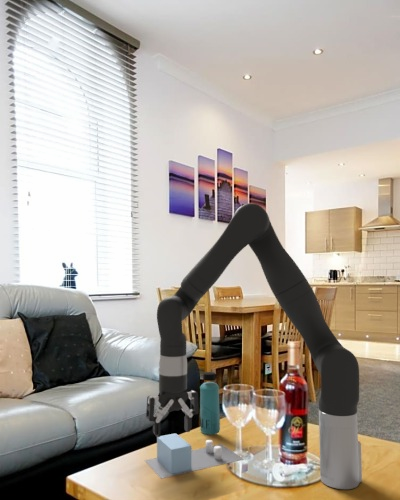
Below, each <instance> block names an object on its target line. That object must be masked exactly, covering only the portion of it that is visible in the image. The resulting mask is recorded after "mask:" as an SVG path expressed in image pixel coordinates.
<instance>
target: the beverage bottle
mask: <svg viewBox="0 0 400 500" xmlns="http://www.w3.org/2000/svg"><path fill="white" fill-rule="evenodd" d="M202 376H203V377H202V380H203V381H205V382H203V383H202V384H201V385H200V386H199V389H200V390H199V393H200V395H199V396H200V397H199V406H200V407H199V408H200V409H199V410H200V411H199V413H200V416H199V417H200V418H199V426H200V432H201V433H202V434H204V435H216V434H218V433H220V430H221V417H220V416H221V415H220V386H219V385H218V384H217V382H213V381H216V380H217V377H216V373H215V372H213V371H206V372H203V375H202Z"/></svg>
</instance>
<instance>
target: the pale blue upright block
mask: <svg viewBox="0 0 400 500" xmlns="http://www.w3.org/2000/svg"><path fill="white" fill-rule="evenodd" d="M191 450H192V445H191V444H190V443H188V441H186V439H184V438H183V437H181V436H180V435H178V434H177V433H171V434H170V433H169V434H165V435H160V437H157V436H156V458H157V460H158V461H159V462H160V463H161V464H162V465H163V466H164V467H165V468H166V469H167V470H168V471H169V472H170V473H171V474H174V473H179V472H183V471H187V470H192V468H191Z"/></svg>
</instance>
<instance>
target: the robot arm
mask: <svg viewBox="0 0 400 500" xmlns="http://www.w3.org/2000/svg"><path fill="white" fill-rule="evenodd" d="M247 246H248V247H250V249H251V251H252V252H253V253H254V254H255V257H256V259H257V260H258V262H259V264H260V267H261V269H262V272H263V274H264V277H265V279H266V281H267V284H268V286H269V288H270V290H271V292H272V294H273V296H274V297H275V299H276V301H277V303H278V304H279V306H280V308H281V309H282V310H283V312H284V314H285V315H286V316H287V318H288V320H289V321H290V322H291V324H292V325H293V326H294V328H295V329H296V330H297V332H298V333H299V335H300V336H301V338H302V339H303V341H304V343H305V345H306V347H307V349H308V351H309V354H310V356H311V358H312V360H313V363H314V365H315V367H316V369H317V371H318V372H319V374H320V396H319V397H318V435H319V436H318V438H319V439H318V440H319V473H320V476H319V477H320V481H321V482H322V484H324V485H325V486H327V487H330V488H333V489H338V490H352V489H355V488H358V486H359V485H360V483H362V482H363V470H362V469H363V467H362V466H363V465H362V463H363V462H362V443H361V441H359V436H358V435H359V431H358V405H359V401H360V367H359V366H360V365H359V361H358V359H357V357H356V355H354V353H353V352H352V351H350V350H348V349H347V348H345V347H344V346H343V345H342V344H341V343H340V341H339V340H338V338H337V337H336V336H335V334H334V333H333V332H332V330H331V329H330V327H329V325H328V324H327V322H326V319H325V317H324V313H323V311H322V309H321V306H320V303H319V300H318V298H317V296H316V293H315V292H314V290H313V288H312V286H311V285H310V283H309V282H308V280H307V278H306V276H305V275H304V273H303V272H302V270H301V269H300V267H299V266H298V265H297V263H296V262H295V260H294V259H293V258H292V257H291V255H290V254H289V253H288V252H287V250H286V249H285V248H284V247H283V244H282V243H281V241H280V239H279V238H278V235H277V233H276V231H275V229H274V227H273V225H272V222H271V220H270V217H269V215H268V213H267V211H266V210H265V208H264V207H262V205H259V204H257V203H251V202H249V203H245V204H243V205H241V206H238V208H237V209H236V210H235V212H234V214H233V216H232V217H231V219H230V220H229V223H228V224H227V225H226V228H225V229H224V230H223V232H222V233H221V235H220V236H219V238H218V239H217V241H215V243H213V245H212V247H210V249H208V251H207V252H206V253H205V254H204V256H203V257H201V259H200V260H199V261H198V262H197V263H196V264H195V265H194V266H193V268H191V269H190V271H189V272H188V273H187V274H186V275H185V277H184V278H183V279H182V281H181V282H180V287H179V288H178V290H177V291H176V292H175V293H174V294H173V295H172V296H170V297H169V296H168V297H166V298H164V299H162V300H161V301H160V302H159V304H158V305H157V310H156V321H157V322H156V323H157V327H158V332H159V339H160V342H159V343H160V349H159V353H160V355H159V362H158V392H159V393H158V395H156V396H155V395H154V396H152V395H147V396H146V397H147V398H146V410H145V412H146V413H145V418H146V419H147V420H148V421H149V422H152V432H153V434H154V435H155V437H156V438H157V437H160V436H161V421H162V419H163V417H164V416H166V414H167V413H170V412H174V411H177V412H178V411H180V410H181V411H182V412H183V413H184V414H185V416H184V417H183V419H184V421H183V423H184V425H183V426H184V427H183V428H184V431H185V432H187V433H189V432H191V430H192V427H193V424H192V423H193V416H194V415H198V414H199V413H200V411H199V410H200V409H199V408H200V407H199V393H198V391H195V390H193V389H191V390H190V391H188V359H187V357H188V356H187V337H186V333H184V332H183V321H184V320H186V319H187V317H189V315H190V314H191V313H192V312H193V311H194V309H195V308H196V306H197V304H198V303H199V301H200V300H201V299H202V298H203V297H204V296H205V295H206V294H207V292H208V291H209V290H210V289H211V288H212V287H213V286H214V285H215V284H216V282H217V281H218V280H219V278H220V277H221V276H222V275H223V273H224V272H225V270H226V269H227V267H228V266H229V265H230V264H231V262H232V261H233V260H234V258H235V257H236V256H237V255H238V254H239V253H240V252H241V251H242V250H244V249H245V248H246V247H247ZM188 399H189V400H190V408H189V406H188V405H187V404H186V402H187V400H188ZM157 402H158V404H159V405H158V407H157V408H156V410H155V406H156V405H157Z"/></svg>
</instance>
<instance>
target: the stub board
mask: <svg viewBox="0 0 400 500" xmlns="http://www.w3.org/2000/svg"><path fill="white" fill-rule="evenodd" d="M213 443H214V441H213V440H212V439H206V440H205V447H201V448H197V449H191V468H192V470H187V471H183V472H179V473H174V474H171V473H170V472H169V471H168V470H167V469H166V468H165V467H164V466H163V465H162V464H161V463H160V462H159V461H158V460H157V457H154V458H149V459H145V460H144V462H145V463H146V464H147V465H148V466H149V467H150V468H151V469H152V470H153V471H154V473H155V474H156V475H157V476H158V477H159V478H160V479H161V480H162V479H166V478H167V479H168V478H170V477H175V476H179V475H184V474H189V473H191V472H196V471H199V470H200V471H201V470H203V469H204V470H205V469H208V468H212V467H218V466H221V465H226V464H229V463H234V462H239V461H243V460H244V458H242V457H241V456H240V455H238V454H237V453H236V452H234V451H233V450H231V449H229V448H228V447H227V446H225V445H224V444H222V443H220V444H216V445H215V444H213Z"/></svg>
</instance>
